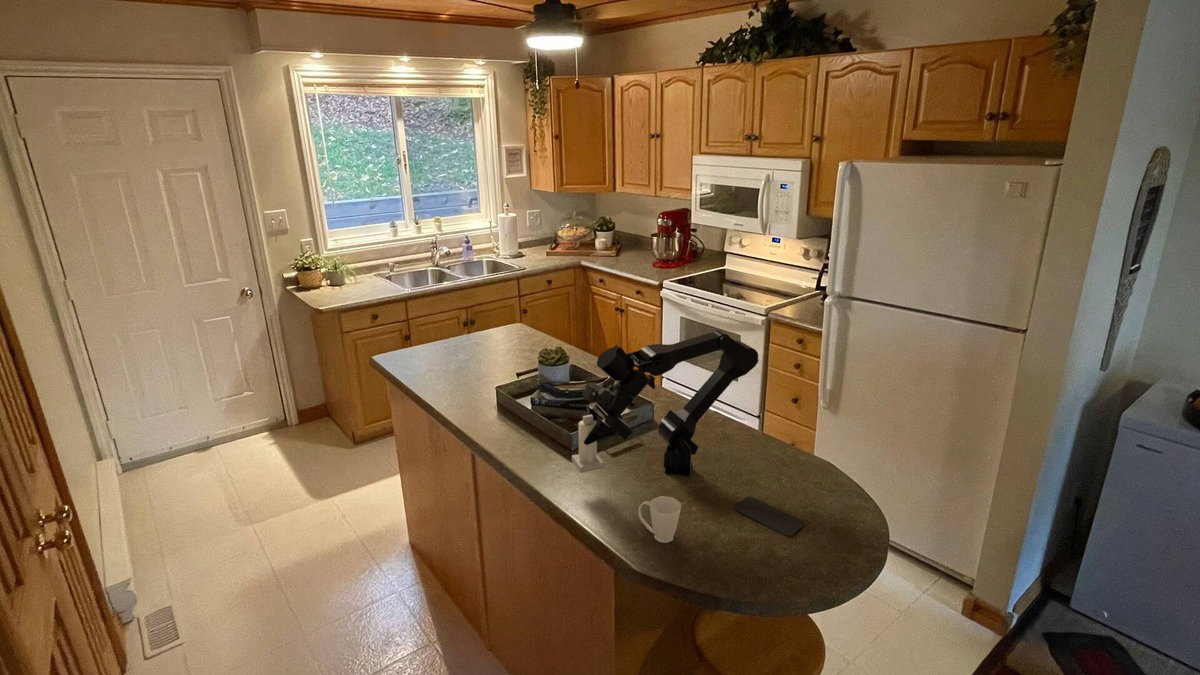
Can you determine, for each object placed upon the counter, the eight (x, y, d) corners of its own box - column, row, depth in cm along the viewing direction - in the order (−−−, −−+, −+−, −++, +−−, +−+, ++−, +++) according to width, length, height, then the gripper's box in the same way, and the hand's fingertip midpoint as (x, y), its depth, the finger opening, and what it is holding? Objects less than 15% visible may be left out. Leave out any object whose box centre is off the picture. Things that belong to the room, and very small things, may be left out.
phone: (790, 537, 137) (731, 507, 147) (790, 540, 137) (731, 510, 147) (806, 522, 142) (748, 495, 152) (806, 525, 142) (748, 497, 152)
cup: (670, 551, 133) (672, 518, 130) (630, 534, 138) (631, 502, 135) (685, 534, 138) (687, 502, 135) (646, 518, 143) (647, 487, 141)
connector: (594, 456, 156) (595, 408, 152) (603, 468, 151) (604, 419, 146) (571, 460, 154) (571, 412, 149) (580, 473, 148) (580, 423, 144)
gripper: (589, 358, 154) (546, 406, 154) (620, 387, 138) (573, 441, 137) (618, 383, 159) (577, 429, 159) (651, 414, 143) (605, 466, 143)
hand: (582, 440), depth 149 cm, fingers closed on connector, 3 cm apart
